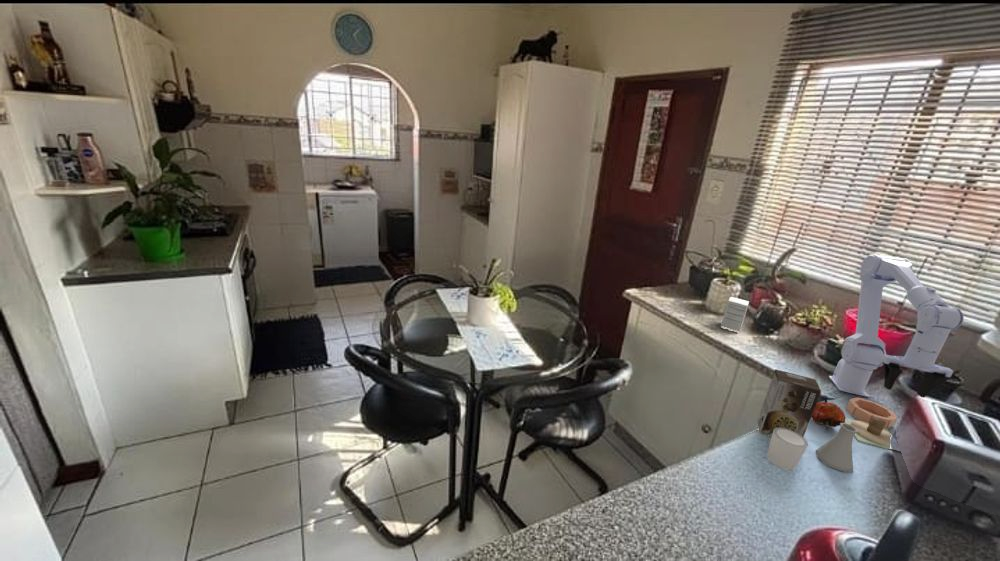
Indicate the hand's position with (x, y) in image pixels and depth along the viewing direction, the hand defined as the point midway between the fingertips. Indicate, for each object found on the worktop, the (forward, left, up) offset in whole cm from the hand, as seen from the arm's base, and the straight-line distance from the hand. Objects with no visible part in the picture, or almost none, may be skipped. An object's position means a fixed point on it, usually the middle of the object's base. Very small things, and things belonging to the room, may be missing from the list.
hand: (903, 391), depth 114 cm
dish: (0, -5, -10) cm, 11 cm away
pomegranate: (+12, -20, -11) cm, 25 cm away
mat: (+10, -8, -10) cm, 16 cm away
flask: (+28, -23, -11) cm, 38 cm away
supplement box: (-52, -33, -11) cm, 62 cm away
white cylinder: (+34, -36, -11) cm, 51 cm away
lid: (+10, -8, -10) cm, 16 cm away
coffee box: (+22, -34, -11) cm, 41 cm away
